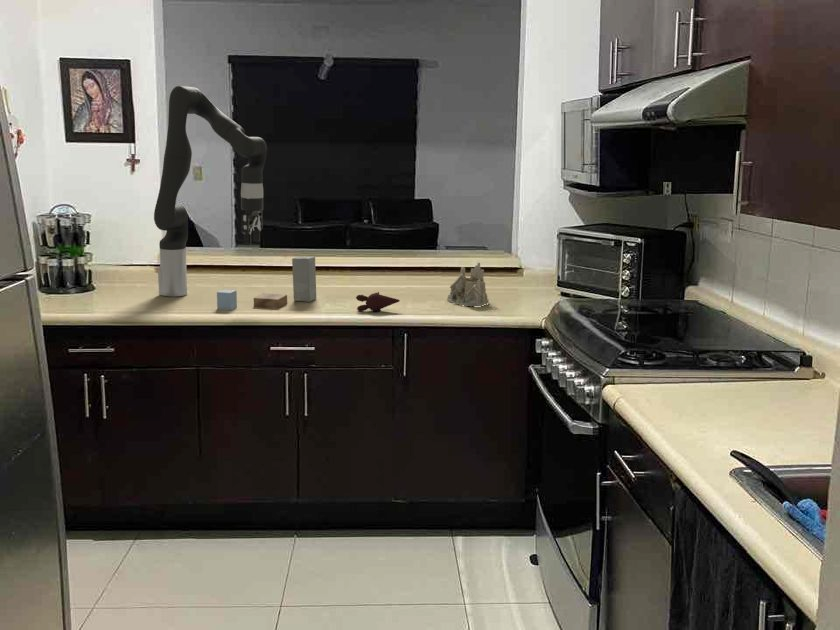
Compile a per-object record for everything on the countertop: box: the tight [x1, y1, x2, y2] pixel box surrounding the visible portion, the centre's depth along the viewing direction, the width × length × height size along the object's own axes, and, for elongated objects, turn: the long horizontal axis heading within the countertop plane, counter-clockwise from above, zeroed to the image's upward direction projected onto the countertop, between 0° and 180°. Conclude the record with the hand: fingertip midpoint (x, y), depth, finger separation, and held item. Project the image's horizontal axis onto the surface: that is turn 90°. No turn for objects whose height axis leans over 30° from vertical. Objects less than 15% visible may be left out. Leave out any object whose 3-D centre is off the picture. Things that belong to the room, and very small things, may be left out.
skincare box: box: [291, 255, 317, 303], centre depth 316 cm, size 8×7×16 cm
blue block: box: [216, 289, 238, 311], centre depth 299 cm, size 5×5×6 cm
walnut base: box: [253, 292, 288, 309], centre depth 307 cm, size 9×9×4 cm
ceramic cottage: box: [446, 262, 490, 306], centre depth 319 cm, size 16×16×15 cm
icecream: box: [355, 291, 401, 312], centre depth 301 cm, size 7×7×15 cm
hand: (252, 243), depth 301 cm, fingers open, 8 cm apart
